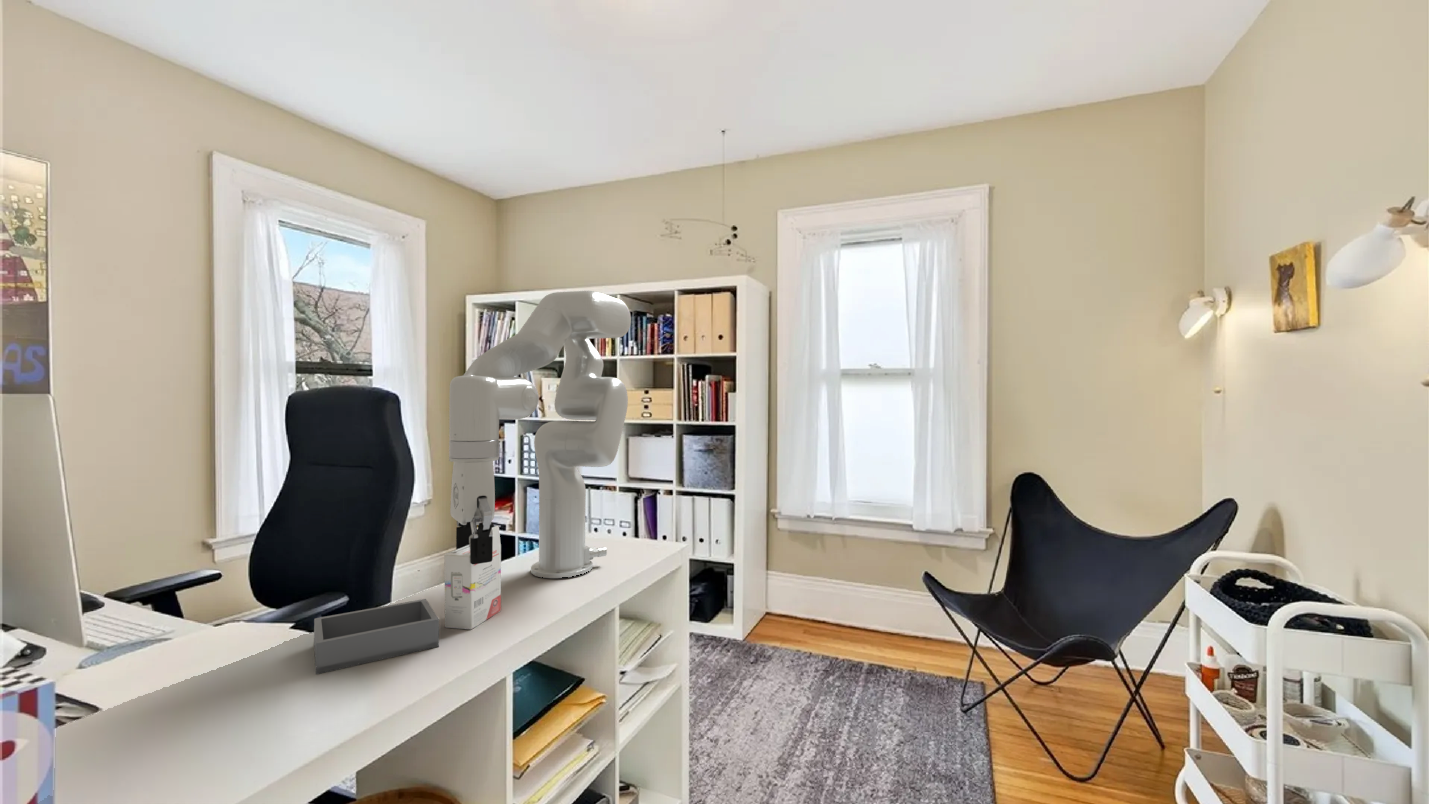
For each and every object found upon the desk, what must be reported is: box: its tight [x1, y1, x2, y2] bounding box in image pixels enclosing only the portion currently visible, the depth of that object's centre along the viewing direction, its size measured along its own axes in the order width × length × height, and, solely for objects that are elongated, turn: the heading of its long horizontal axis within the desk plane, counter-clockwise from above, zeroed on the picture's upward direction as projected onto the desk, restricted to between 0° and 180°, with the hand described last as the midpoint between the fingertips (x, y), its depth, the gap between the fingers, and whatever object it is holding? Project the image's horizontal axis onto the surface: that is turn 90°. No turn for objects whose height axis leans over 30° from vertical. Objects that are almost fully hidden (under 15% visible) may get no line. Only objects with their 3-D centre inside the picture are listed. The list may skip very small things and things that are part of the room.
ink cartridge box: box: [443, 525, 502, 630], centre depth 94 cm, size 9×5×15 cm, turn 168°
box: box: [313, 598, 440, 675], centre depth 83 cm, size 15×11×4 cm
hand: (473, 555), depth 94 cm, fingers open, 9 cm apart
